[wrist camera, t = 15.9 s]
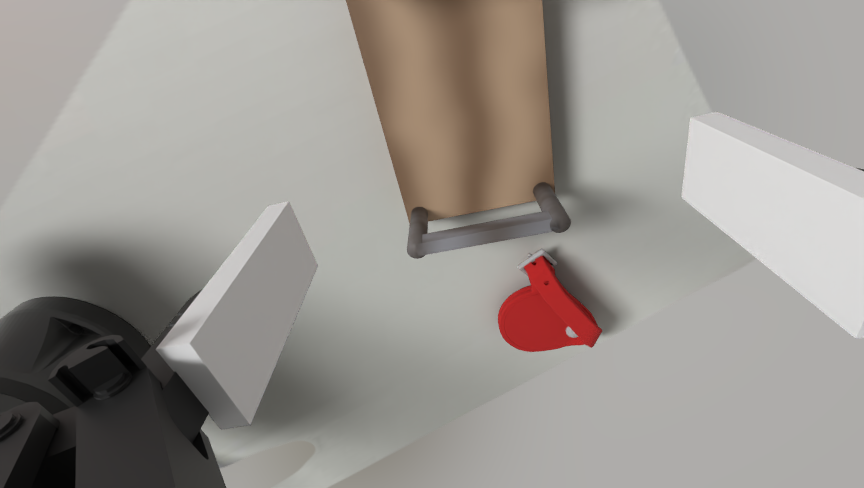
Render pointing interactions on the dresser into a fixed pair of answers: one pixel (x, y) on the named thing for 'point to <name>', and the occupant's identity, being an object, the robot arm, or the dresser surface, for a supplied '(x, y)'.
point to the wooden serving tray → (463, 113)
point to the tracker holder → (545, 311)
